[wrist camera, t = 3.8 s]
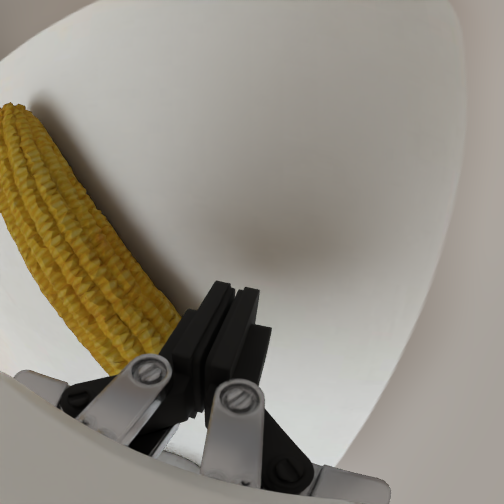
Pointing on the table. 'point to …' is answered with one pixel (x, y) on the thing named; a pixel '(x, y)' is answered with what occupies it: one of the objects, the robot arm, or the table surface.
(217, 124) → the table surface
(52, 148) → the food
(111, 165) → the table surface
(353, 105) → the table surface
